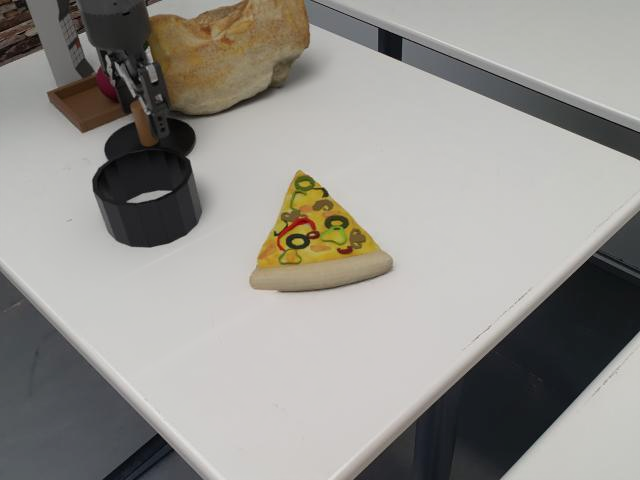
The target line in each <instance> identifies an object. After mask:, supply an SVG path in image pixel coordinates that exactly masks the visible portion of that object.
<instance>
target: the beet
mask: <svg viewBox="0 0 640 480" xmlns="http://www.w3.org/2000/svg"><path fill="white" fill-rule="evenodd" d="M148 48H150V47H149V44H148V41H147V40H146V41H145V42H144V44H143V49H144V51H145V52H146V53H147V49H148ZM96 73H97V76H96V81H97V85H98V87H99V89H100V91H101V92H102V93H103V94H104V95H105V96H106V97H108V98H109V99H112V100H117V101H119V100H118V96H117V93H116V90H115V87H113V86H112V85H111V83H110V76H109V77H105V75H104V74H103V71H102V67H101V65H100V66H99V68H98V69H97V71H96Z"/></svg>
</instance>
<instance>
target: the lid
mask: <svg viewBox="0 0 640 480" xmlns="http://www.w3.org/2000/svg"><path fill="white" fill-rule="evenodd" d="M130 107H131V111H132V114H131V115H132V118H133V121H132V122H130V123H128V124H125V125H123V126H122V127H120V128H118V129H117V130H115V131H114V132H113V133H111V135H110V136H109V137H108V139H107V140H106V142H105V144H104V148H103V151H104V155H105V158H106V161H108V160H109V159H111V158H112V157H115V156H117V155H119V154H122V153H124V152H126V151H129V150H134V149H139V148H144V147H166V148H169V149H173V150H176V151H179V152H181V153H182V154H183V155H184V156H186V157H187V156H188V155H189V154H190V153H191V152H192V151H193V149H194V147H195V146H196V143H197V142H196V141H197V136H196V132H195V130H194V128H193V127H192V126H191V125H190V124H189V123H187V122H185V121H183V120H181V119H177V118H173V117H166V120H167V124H168V128H169V132H170V133H169V135H168V136H166V137H164V138H162V139H159V140H155V139H154V138H153V137H152V135H151V132H150V128H149V125H148V121H147V118H146V114H145V111H144V109H143V107H142V105H141V103H140V101H139V100H137V101H134V102H133V103H131V105H130Z"/></svg>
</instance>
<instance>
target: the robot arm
mask: <svg viewBox="0 0 640 480" xmlns="http://www.w3.org/2000/svg"><path fill="white" fill-rule="evenodd" d="M75 3H76V6H77V9H78V12H79V16H80V19H81V22H82V24H83V28H84V31H85V35H86V37H87V40H88V42H89V44H90V45H91V46H92V47H93V48H95V50H96V54H97V57H98V60H99V64H100V66H101V67H102V71H103V74H104V75H105V77H109V76H110V83H111V85H112V86H113V87H115V90H116V93H117V96H118V100H119V103H120V106H121V109H122V111H123V112H124V113H125V114H129V113H131V112H132V111H131V107H130V105H131V103H133V102H134V101H137V99H139V101H140V103H141V105H142V107H143V109H144V111H145V114H146V118H147V121H148V125H149V128H150V132H151V135H152V137H153V138H154V139H155V140H159V139H162V138H164V137H166V136H168V135H169V133H170V132H169V128H168V124H167V120H166V118H167V116H166V113H165V112H167V111H172V110H171V109H172V105H171V102H170V98H169V95H168V91H167V87H166V84H165V80H164V76H163V73H162V69H161V65H160V64H159V62H158V61H155V62H153V61H152V60H151V59H150V57H149V55H148V52H147V51H146V52H145V51H144V49H143V44H144V42H145V41H146V40H147V39H148V38H149V37H150V35H151V32H152V27H151V23H150V19H149V17H150V16H149V10H148V7H147V3H146V0H75ZM140 84H142V88H137V87H136V86H138V85H140ZM144 95H145V96H144ZM145 97H146V98H145ZM154 97H155V99H156V101H154ZM129 115H130V114H129Z"/></svg>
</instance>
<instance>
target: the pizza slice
mask: <svg viewBox="0 0 640 480" xmlns="http://www.w3.org/2000/svg"><path fill="white" fill-rule="evenodd" d="M393 263H394V259H393V258H392V256H391V255H390V254H389V253H388V252H386V251H384V250H383V249H381V248H380V245H379V244H378V243H377V242H376V241H375V240H374V238H373V237H372V236H371V234H370V233H369V232H368V231H366V230H365V229H364V228H363V227H361V225H360V224H359V223H358V222H357V221H356V220H355V219H354V217H353V216H352V215H351V214H350V212H348V211H347V210H346V209H345V208H344V207H343V206H342V205H340V204H339V203H338V202H337V201H336V200H335V199H334V198H333V197H332V196H331V195H330V193H329V191H328V190H327V188H325V187H322V185H321V184H320V183H319V182H317V180H315V179H314V178H313V177H312V176H310V175H309V174H306V172H304V171H303V170H301V169H298V170H297V171H296V172H295V174H294V176H293V179H292V180H291V182H290V183H289V186H288V188H287V191H286V192H285V195H284V199H283V202H282V206H281V209H280V211H279V213H278V215H277V218H276V221H275V224H274V225H273V227H272V228H271V230H270V232H269V234H268V236H267V238H266V240H265V241H264V242H263V244H262V246H261V248H260V250H259V253H258V256H257V257H256V266H255V268H254V270H252V273H251V274H250V276H249V285H250V287H251V288H252V289H254V290H258V291H277V292H301V291H313V290H323V289H330V288H337V287H340V286H345V285H348V284H352V283H356V282H360V281H364V280H368V279H372V278H374V277H378V276H381V275H383V274H386V273H387V272H388V271H390V270H392V268H393V265H394V264H393Z"/></svg>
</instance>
